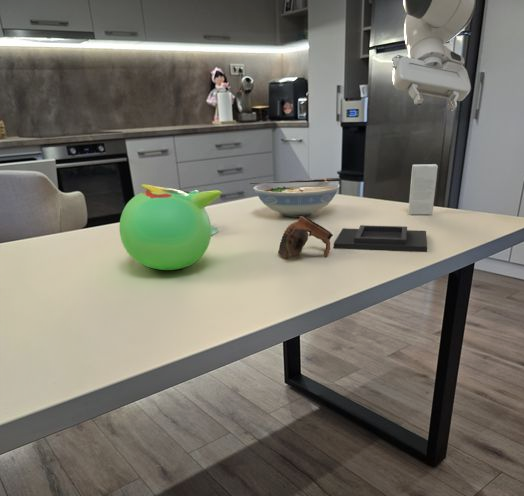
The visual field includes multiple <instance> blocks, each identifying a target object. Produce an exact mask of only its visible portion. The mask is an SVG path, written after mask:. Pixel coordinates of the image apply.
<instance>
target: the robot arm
mask: <svg viewBox="0 0 524 496" xmlns="http://www.w3.org/2000/svg"><path fill="white" fill-rule="evenodd" d="M402 3H403V8H404V10H405V14H406V15H405V20H404V27H403V34H404V42H405V43H404V44H405V49H406V50H407V52H408V54H407V56H403V55H401V54H397V55H395V56H393V57H392V59H391V66H392V68H393V70H392V85H393V87H394V88H395V89H396V90H398V91H402V92H407V94H408V95H409V96H410V98H411V99H412V100H413V104H414V105H417V106H421V105H422V103H423V102H424V95H425V96H431V97H435V98H441V99H446V100H448V101H449V102H448V103H447V104H446V108H447V111H451V112H454V111H455V110H456V109H457V107H458V104H457V101H458V102H462V101H463V100H464V99H465V98H466V97H467V96H468V95H469V94H470V92H471V90H472V85H471V80H470V77H469V74H468V70H467V69H466V67H465V66H464V64H465V58H464V57H463V56H462V55H461V54H458V53H456V52H455V51H453V50H451V49H450V48H449V47H447V46H446V45H445V44H446V43H448V42H450V41H451V40H452V39H454V38H455V37H457V36H458V35H459V34H460V33H462V32H463V31H464V30H465V29H466V27H468V25H469V24H470V22H471V20H472V18H473V16H474V13H475V10H476V0H403V1H402Z"/></svg>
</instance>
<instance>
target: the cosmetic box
mask: <svg viewBox="0 0 524 496" xmlns="http://www.w3.org/2000/svg"><path fill="white" fill-rule="evenodd" d="M411 166H412V167H411V177H410V188H409V189H410V190H409V199H408V208H407V209H408V211H407V212H408V215H411V216H412V215H413V216H414V215H415V216H416V215H417V216H418V215H419V216H421V215H422V216H423V215H424V216H427V215H428V216H429V215H431V216H432V215H433V214H434V205H435V204H434V203H435V196H436V188H437V187H436V186H437V179H438V169H439V166H438V164H436V163H432V164H430V163H428V164H425V163H423V164H420V163H419V164H412V165H411Z"/></svg>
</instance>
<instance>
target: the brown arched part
mask: <svg viewBox="0 0 524 496" xmlns="http://www.w3.org/2000/svg"><path fill="white" fill-rule="evenodd" d="M309 237H315V238H316V239H318V240H321V241H322V243H324V244H325V249H324V252H323V255H324V257H328V255H329V253H330V250H331V239H332V237H333V233H332V232H331V231H329V230H328V229H326V228H325V227H323V226H322V225H320V224H319V223H317V222H315V221H313V219H310V218H308V217H307V216H300V217H299V218H298V220H296V221H294V222H291V223H290V224H288V226H287V227H286V229H285V230H284V232H283V234H282V236H281V239H280V242H279V248H278V251H277V254H278V255H279V256H280V257H281V258H283V259H284V260H286V259H288V254H289V255H290V257H295V258H297V257H300V256H301V253H302V251H303V248H304V247H305V245H306V243H307V242H308V240H309Z"/></svg>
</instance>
